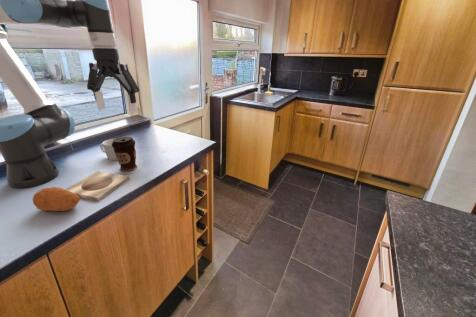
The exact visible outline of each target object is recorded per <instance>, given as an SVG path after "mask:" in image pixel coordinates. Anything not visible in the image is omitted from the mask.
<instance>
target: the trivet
mask: <svg viewBox="0 0 476 317" xmlns="http://www.w3.org/2000/svg"><path fill="white" fill-rule="evenodd" d="M130 177H131V176H129V175H124V174H119V173H111V172H107V171H106V172H105V171H99V170H97V171H95V172H93V173H90V175H88V176H86V177H85V178H83V179H81V180H79V181H77V182H75V183H74V184H72V185H71V186H68V187H67V188H65V190H67V191H70V192H72V193H75V194H77V195H78V196H79V198H82V199H87V200H93V201H97V202H99V201H101V200H102V199H104V198H105V197H107V196H108V195H110V194H111V193H112V192H114V191H115V190H116V189H118V188H119V187H121V186H122V185H123V184H125V183H126V182H128V181H129V180H131V178H130Z"/></svg>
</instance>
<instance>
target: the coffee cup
mask: <svg viewBox="0 0 476 317" xmlns="http://www.w3.org/2000/svg"><path fill="white" fill-rule="evenodd" d="M113 139H114V140H113V143H112V147H113V148H114V152H115V155H116V158H117V160H116V161H117V163H118V164H119V166H120V167H119V168H120V170H121V171H122V172H123V171H124V172H127V171H128V172H129V171H133V170H135V169H137V167H138V165H137V163H136V159H137V152H136V151H137V150H136V141H135V139H134V138H133V137H132V136H121V137H120V136H119V137H115V138H113Z"/></svg>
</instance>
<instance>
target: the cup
mask: <svg viewBox="0 0 476 317" xmlns="http://www.w3.org/2000/svg"><path fill="white" fill-rule="evenodd" d="M114 139H115V138H110V139H107V140H104V141H103V142H102V143H100V145H99V147H100V150H101V152H102V153H105V155H106V157H107V159H108V160H110V161H117V158H116V155H115V152H114V148H113V147H112V143H113V140H114Z"/></svg>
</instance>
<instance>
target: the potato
mask: <svg viewBox="0 0 476 317" xmlns="http://www.w3.org/2000/svg"><path fill="white" fill-rule="evenodd" d="M65 189H66V188H65ZM65 189H64V188H62V187H60V186H59V187H58V186H57V187H56V186H50V187H44V188H41V189H40V190H38V191H37V192H35V193H34V194H33V197H32V203H33V205H34V206H35V208H36V209H37V210H41V211H43V212H44V211H45V212H65V211H67V212H68V211H70V210H72V209H74V208H76V207H77V205H78V204H79V202H80V200H81V199H80V198H81V197H79V196H78V195H77V194H75V193H72V192H70V191H67V190H65Z"/></svg>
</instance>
